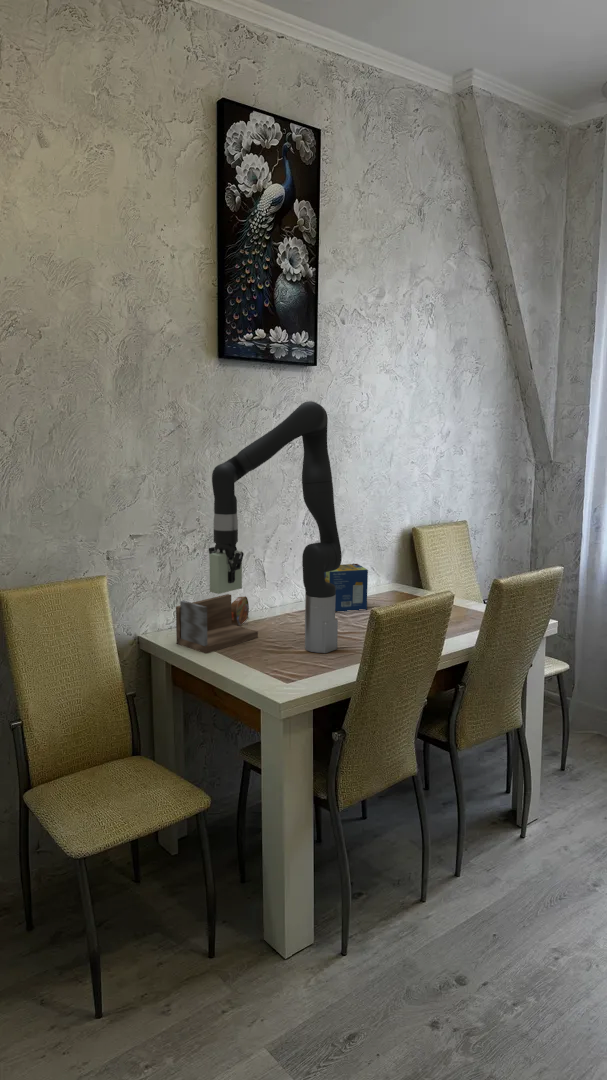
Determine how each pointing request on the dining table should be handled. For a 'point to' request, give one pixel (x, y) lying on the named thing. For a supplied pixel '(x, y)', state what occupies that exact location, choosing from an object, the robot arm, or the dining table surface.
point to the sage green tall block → (222, 574)
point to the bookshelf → (209, 625)
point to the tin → (239, 610)
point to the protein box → (349, 586)
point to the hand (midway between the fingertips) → (225, 581)
